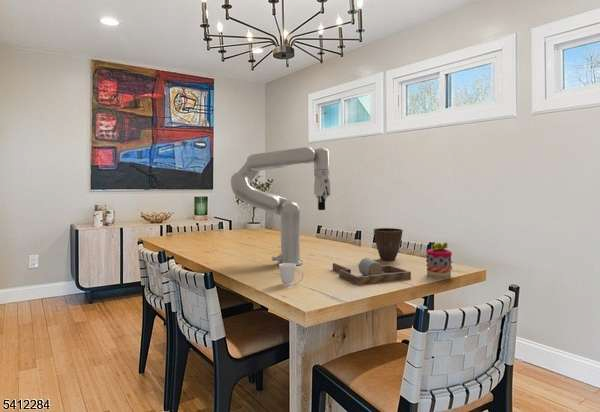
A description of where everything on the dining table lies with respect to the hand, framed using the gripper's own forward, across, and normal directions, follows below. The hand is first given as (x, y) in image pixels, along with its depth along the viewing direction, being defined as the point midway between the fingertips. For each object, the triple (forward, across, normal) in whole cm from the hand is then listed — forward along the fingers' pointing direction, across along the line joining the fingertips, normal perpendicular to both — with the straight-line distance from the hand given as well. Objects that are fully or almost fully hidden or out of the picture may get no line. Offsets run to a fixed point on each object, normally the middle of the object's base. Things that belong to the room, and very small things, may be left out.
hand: (321, 209), depth 198 cm
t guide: (+27, -30, -7) cm, 41 cm away
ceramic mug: (+27, -35, -8) cm, 45 cm away
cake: (+27, -45, -35) cm, 63 cm away
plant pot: (+27, -6, -36) cm, 46 cm away
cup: (+27, -34, +30) cm, 53 cm away
